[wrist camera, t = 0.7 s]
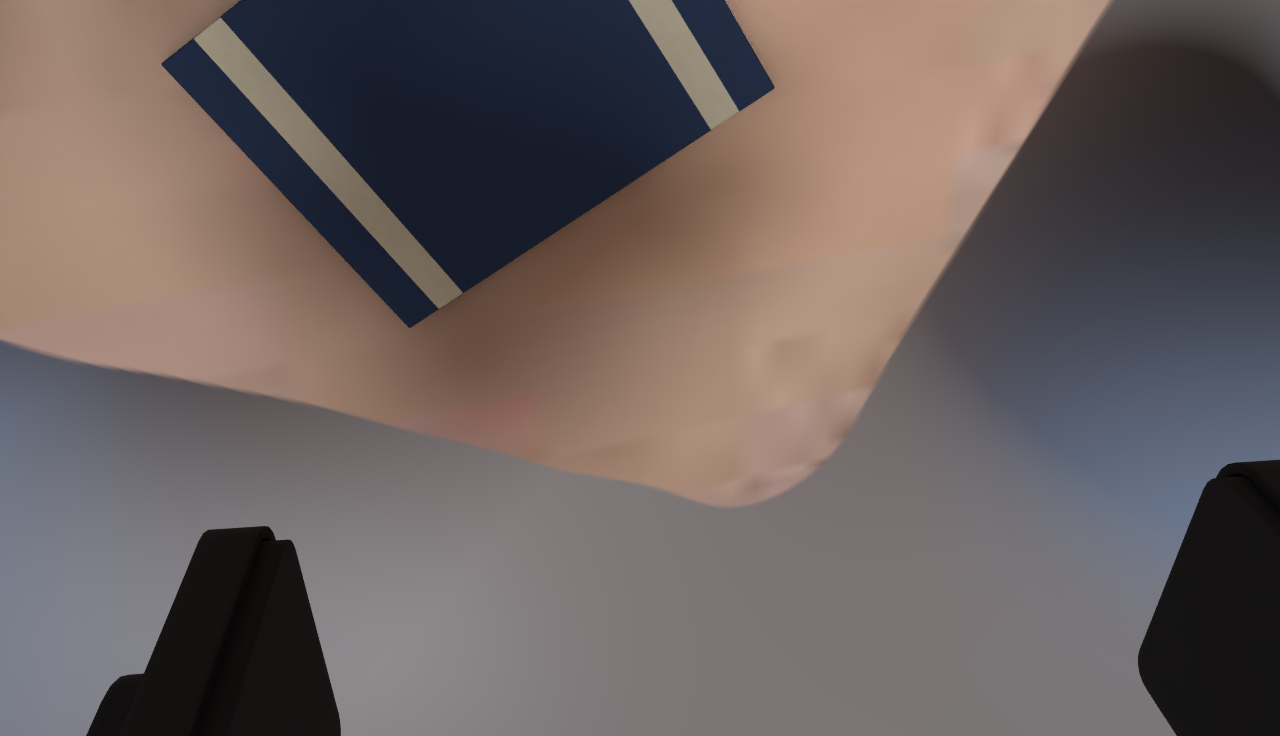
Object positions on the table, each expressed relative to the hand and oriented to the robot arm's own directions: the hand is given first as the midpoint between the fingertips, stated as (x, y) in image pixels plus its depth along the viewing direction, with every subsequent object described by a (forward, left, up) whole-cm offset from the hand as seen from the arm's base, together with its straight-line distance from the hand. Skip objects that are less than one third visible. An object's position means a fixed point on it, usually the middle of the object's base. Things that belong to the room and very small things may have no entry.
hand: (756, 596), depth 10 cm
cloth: (+4, -1, -26) cm, 26 cm away
